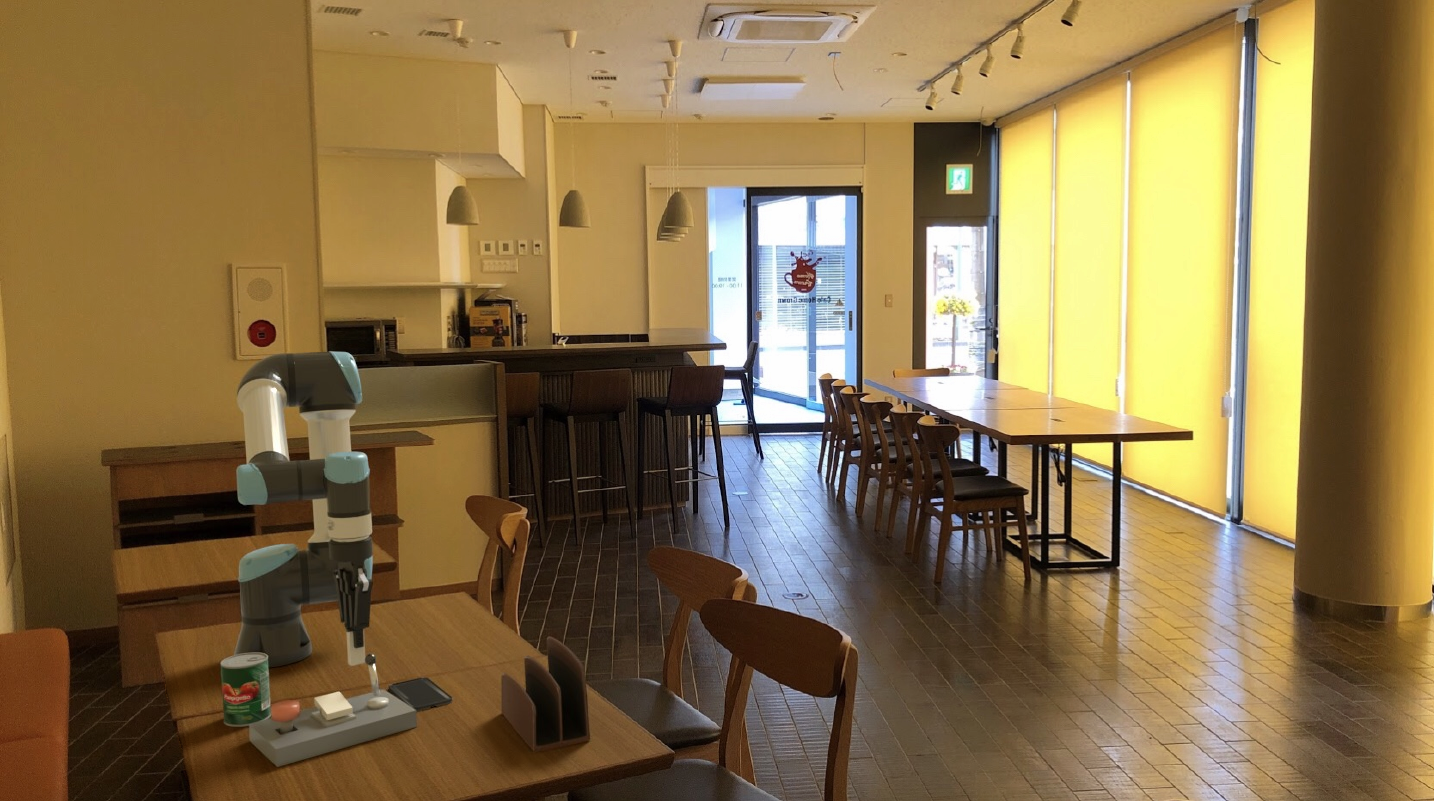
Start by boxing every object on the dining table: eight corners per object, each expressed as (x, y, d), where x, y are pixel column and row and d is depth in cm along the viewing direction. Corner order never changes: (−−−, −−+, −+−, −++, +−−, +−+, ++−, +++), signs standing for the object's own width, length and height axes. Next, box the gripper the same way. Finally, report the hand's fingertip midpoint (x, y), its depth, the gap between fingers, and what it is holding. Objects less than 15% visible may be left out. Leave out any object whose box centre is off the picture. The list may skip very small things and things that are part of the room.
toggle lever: (369, 697, 190) (362, 655, 192) (380, 694, 192) (372, 653, 193) (373, 696, 189) (366, 654, 190) (384, 693, 190) (377, 652, 192)
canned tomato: (224, 730, 188) (220, 669, 187) (223, 714, 195) (219, 656, 194) (272, 721, 191) (269, 662, 190) (270, 707, 199) (267, 649, 198)
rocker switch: (314, 705, 186) (314, 697, 186) (339, 698, 189) (339, 691, 188) (327, 721, 182) (327, 714, 181) (352, 715, 184) (352, 707, 184)
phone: (425, 676, 211) (454, 698, 199) (426, 681, 211) (454, 704, 199) (386, 685, 207) (412, 708, 195) (386, 690, 207) (412, 714, 195)
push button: (269, 733, 180) (267, 704, 180) (295, 726, 183) (293, 698, 183) (277, 741, 177) (276, 712, 177) (304, 733, 180) (303, 705, 179)
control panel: (249, 740, 183) (248, 719, 183) (384, 704, 199) (383, 685, 198) (277, 766, 172) (275, 744, 172) (417, 726, 188) (416, 705, 188)
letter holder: (553, 703, 198) (551, 629, 197) (590, 742, 180) (588, 661, 179) (500, 714, 194) (498, 638, 192) (533, 754, 176) (530, 671, 175)
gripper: (316, 535, 197) (323, 659, 199) (343, 546, 187) (350, 677, 189) (356, 528, 202) (362, 650, 204) (384, 539, 192) (391, 667, 194)
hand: (356, 663), depth 197 cm, fingers closed
